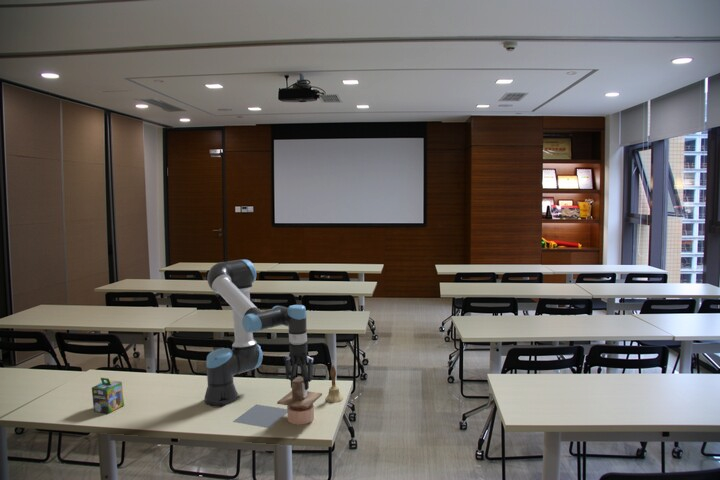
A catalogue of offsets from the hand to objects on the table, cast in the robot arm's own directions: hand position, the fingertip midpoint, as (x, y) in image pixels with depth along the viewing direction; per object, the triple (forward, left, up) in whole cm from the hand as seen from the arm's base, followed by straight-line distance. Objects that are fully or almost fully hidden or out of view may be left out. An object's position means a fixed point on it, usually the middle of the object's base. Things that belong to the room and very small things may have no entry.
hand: (300, 395), depth 210 cm
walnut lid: (0, 0, -2) cm, 2 cm away
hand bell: (+5, +24, -11) cm, 27 cm away
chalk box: (-89, -18, -11) cm, 92 cm away
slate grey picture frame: (-17, -3, -11) cm, 20 cm away
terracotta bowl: (0, 0, -11) cm, 11 cm away
